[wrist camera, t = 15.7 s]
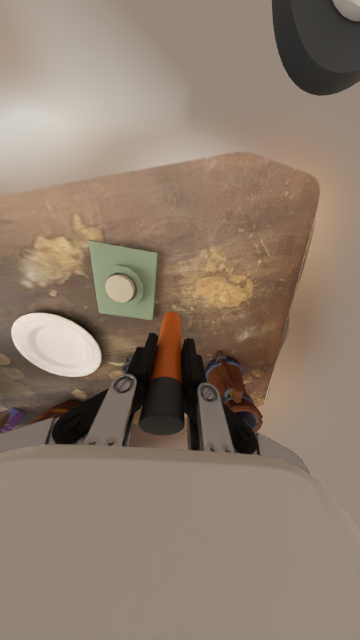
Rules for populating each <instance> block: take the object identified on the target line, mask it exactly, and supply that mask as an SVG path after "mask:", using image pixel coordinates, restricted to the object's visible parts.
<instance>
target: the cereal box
mask: <svg viewBox="0 0 360 640" xmlns="http://www.w3.org/2000/svg"><path fill="white" fill-rule="evenodd" d="M26 414H27V413H25V412H23V411H21V410H19V409H17V408H15V407H14V408H11V409H9V410H6V411H4V412H1V413H0V433H3V432H6V431H9V430H11V429H12V428H13V427H14V426H15V425H16V424H17V423H18V422H19V421H20V420H21V419H22V418H23V417H24V416H25V415H26Z"/></svg>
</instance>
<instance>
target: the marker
mask: <svg viewBox="0 0 360 640" xmlns="http://www.w3.org/2000/svg"><path fill="white" fill-rule="evenodd" d="M139 427H140V428H141V429H142V430H143V431H145V432H147V433H150V434H154V435H171V434H175V433H178V432H179V431H181V430H182V429H183V428H184V395H183V385H182V352H181V318H180V316H179V315H178V314H177V313H175V312H168V313H166V314H165V315H164V317H163V321H162V326H161V330H160V335H159V339H158V344H157V349H156V353H155V358H154V362H153V367H152V371H151V376H150V380H149V384H148V387H147V389H146V393H145V398H144V402H143V406H142V411H141V415H140V419H139Z"/></svg>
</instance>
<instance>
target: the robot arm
mask: <svg viewBox="0 0 360 640" xmlns="http://www.w3.org/2000/svg"><path fill="white" fill-rule="evenodd" d="M332 1H333V3H334V6H335V7H336V8H337V10H338V11H339V12H340V13H341V14H342V16H344V17H346V18H348V19H349V20H351V21H358V22H360V0H332ZM157 343H158V336H157V335H156V334H155V333H149V336H148V339H147V342H146V345H145V347H144V348H143V347H137V349H136V351H135V353H134V355H133V358H132V360H131V362H130V365H129V367H128V369H127V372H126V374H122V375H120V376H118V377H116V378H115V379H114V380H113V382H112V383H111V385H110V387H109V388H108V389H107V390H105V391H103V392H101V393H99V394H98V395H96V396H94V397H92V398H90V399H89V400H87V401H85V402H83V403H81V404H80V405H78V406H76V407H74V408H72V409H71V410H69V411H67V412H66V413H64V414H63V415H62V416H61V417H59V418H56V419H54V417H52V418H49V419H46V420H42V421H39V422H36V423H32V424H29V425H26V426H22V427H19V428H16V429H12V430H9V431H6V432H3V433H0V640H360V531H359V530H358V528H357V527H356V526H355V524H354V523H353V521H352V520H351V518H350V517H349V516H348V514H347V513H346V512H345V510H344V509H343V508H342V506H341V505H340V504H339V502H338V501H337V500H336V499H335V497H334V496H333V495H332V494H331V493H330V492H329V491H328V490H327V488H325V487H324V486H323V485H322V484H321V483H320V482H319V481H317V480H316V479H315V478H314V477H312V476H311V475H310V474H309V471H308V469H307V467H306V465H305V464H304V463H303V461H302V459H301V458H299V456H298V455H297V454H295V453H294V452H293V451H291V450H289V449H288V448H286V447H284V446H282V445H280V444H278V443H277V442H275V441H273V440H271V439H269V438H267V437H266V436H264V435H262V434H260V433H258V432H257V433H255V432H253V430H252V429H251V428H250V426H249V425H248V424H247V423H245V422H244V421H243V420H242V419H241V418H240V417H239V416H238V415H237V414H235V413H234V412H233V411H232V410H231V409H230V408H229V407H228V406H227V405H225V404H224V403H223V402H222V401H221V398H220V394H219V392H218V390H217V389H216V387H215V386H213V385H212V384H210V383H207V379H206V374H205V370H204V366H203V361H202V357H201V355H196V349H195V344H194V339H190V338H187V340H184V344H183V348H182V385H183V395H184V412H185V413H186V414H187V432H188V450H175V449H157V448H139V447H128V442H129V439H130V434H131V430H132V426H133V421H134V417H135V412H137V411H138V410H139V409H140V408H141V406H143V402H144V398H145V393H146V389H147V387H148V384H149V380H150V376H151V371H152V367H153V362H154V358H155V353H156V349H157Z"/></svg>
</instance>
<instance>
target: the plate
mask: <svg viewBox="0 0 360 640" xmlns="http://www.w3.org/2000/svg"><path fill="white" fill-rule="evenodd" d="M11 334H12V340H13V342H14V344H15V347H16V348H17V349H18V350H19V352H20V353H21V354H22V355H23V356H24V357H25V358H26V359H27V360H28V361H30V362H31V363H33V364H34V365H36V366H37V367H39V368H41V369H43V370H45V371H48V372H50V373H53V374H57V375H61V376H67V377H80V376H85V375H88V374H90V373H92V372H94V371H95V370H96V369H97V368H98V367H99V366H100V363H101V361H102V352H101V349H100V347H99V344H98V343H97V341H96V340H95V339H94V337H93V336H92V335H91V334H90V333H89V332H88V331H87V330H85V329H84V328H83V327H82V326H80V325H78V324H77V323H75V322H73V321H72V320H69V319H67V318H64V317H62V316H59V315H55V314H50V313H30V314H26V315H23V316H21V317H20V318H18V319H17V320H16V321H15V322H14V324H13V326H12V328H11Z"/></svg>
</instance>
